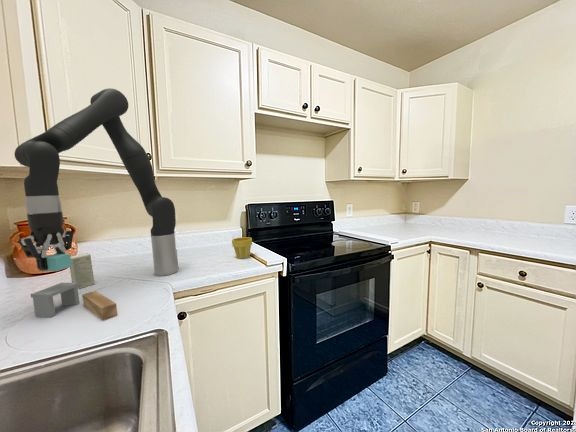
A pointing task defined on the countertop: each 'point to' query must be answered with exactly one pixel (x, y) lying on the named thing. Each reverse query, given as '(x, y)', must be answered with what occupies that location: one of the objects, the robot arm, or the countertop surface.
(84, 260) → the skincare box
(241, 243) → the plant pot
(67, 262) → the block
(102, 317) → the rod
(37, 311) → the tunnel
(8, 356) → the countertop surface
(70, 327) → the countertop surface
